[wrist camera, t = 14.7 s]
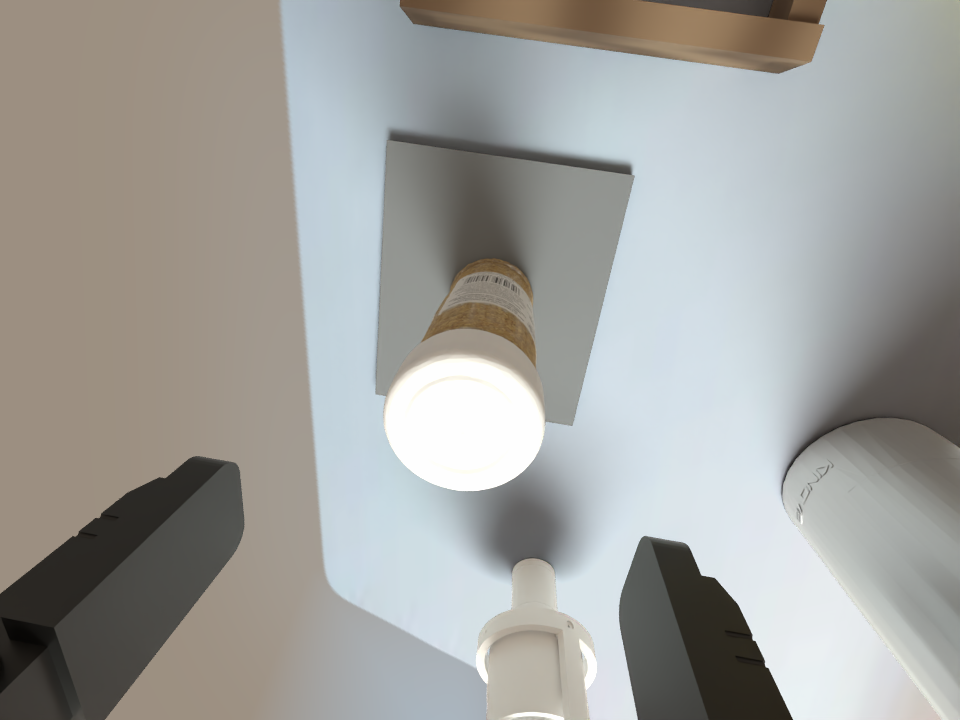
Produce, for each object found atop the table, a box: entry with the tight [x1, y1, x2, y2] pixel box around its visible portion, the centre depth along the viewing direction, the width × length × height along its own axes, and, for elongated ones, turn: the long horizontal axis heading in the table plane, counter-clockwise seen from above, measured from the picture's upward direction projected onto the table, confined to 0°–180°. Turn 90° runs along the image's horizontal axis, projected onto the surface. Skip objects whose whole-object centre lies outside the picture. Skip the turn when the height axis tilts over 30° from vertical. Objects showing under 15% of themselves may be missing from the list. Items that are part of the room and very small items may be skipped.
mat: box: [375, 140, 634, 426], centre depth 25 cm, size 12×14×1 cm
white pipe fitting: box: [476, 558, 597, 720], centre depth 26 cm, size 7×7×15 cm
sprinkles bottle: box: [383, 258, 545, 491], centre depth 19 cm, size 5×4×14 cm
